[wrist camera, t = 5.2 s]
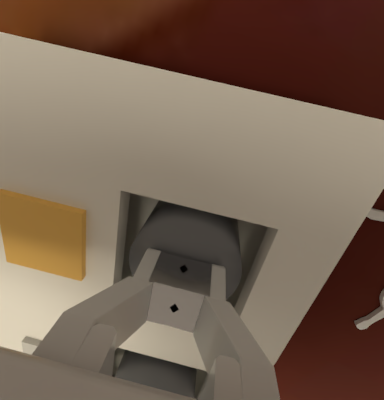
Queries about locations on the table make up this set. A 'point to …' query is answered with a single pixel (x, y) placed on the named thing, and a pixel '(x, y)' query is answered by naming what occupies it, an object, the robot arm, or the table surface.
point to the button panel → (167, 189)
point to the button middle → (157, 373)
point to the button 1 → (191, 239)
